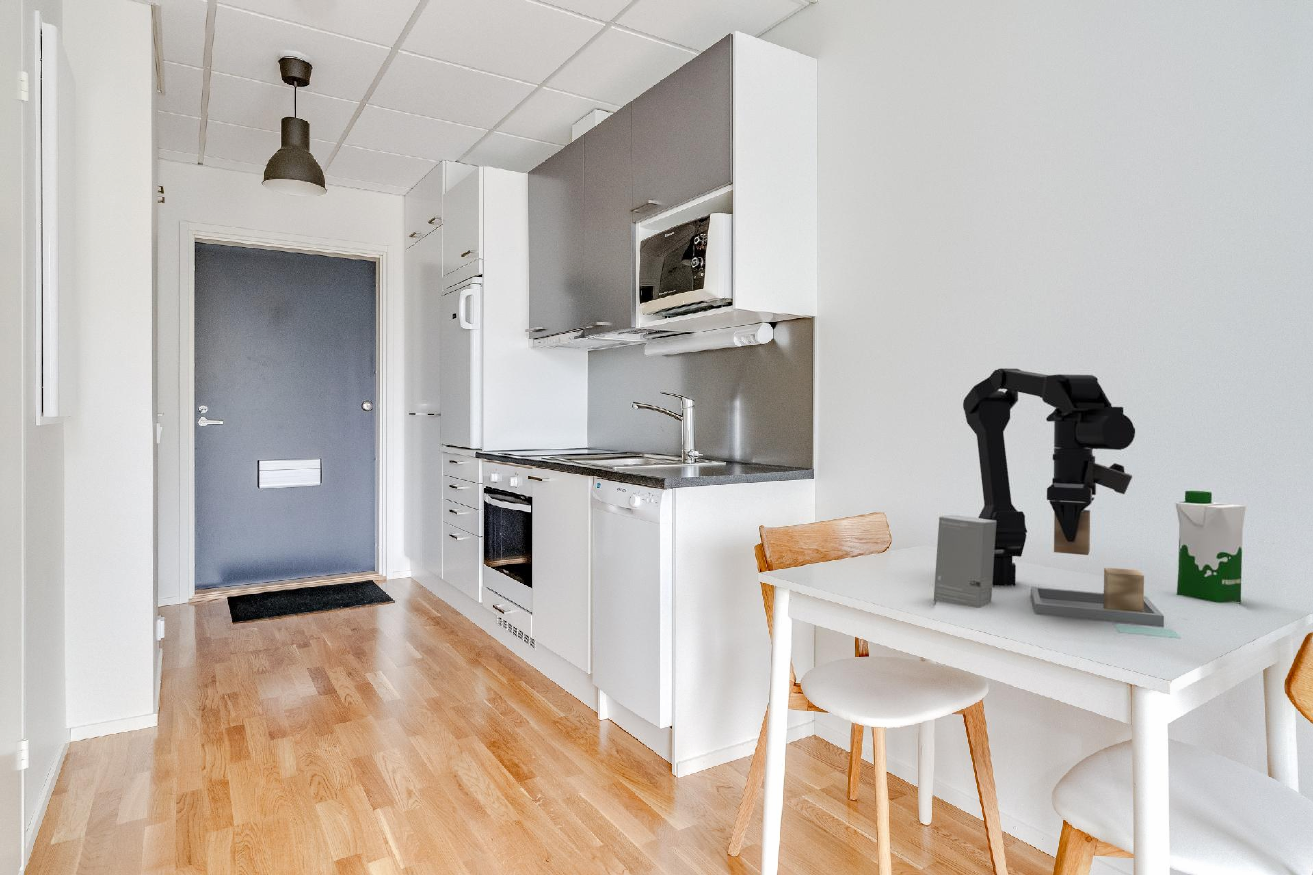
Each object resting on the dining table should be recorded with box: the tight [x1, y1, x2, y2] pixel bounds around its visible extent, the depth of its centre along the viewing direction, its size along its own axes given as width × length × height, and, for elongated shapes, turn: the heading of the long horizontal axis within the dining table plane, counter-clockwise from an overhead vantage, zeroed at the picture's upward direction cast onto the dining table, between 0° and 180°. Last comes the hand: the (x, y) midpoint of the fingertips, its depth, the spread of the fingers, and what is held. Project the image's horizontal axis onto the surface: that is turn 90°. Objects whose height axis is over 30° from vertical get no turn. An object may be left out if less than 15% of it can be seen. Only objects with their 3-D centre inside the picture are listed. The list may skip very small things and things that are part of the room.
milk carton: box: [1175, 490, 1247, 604], centre depth 136 cm, size 9×9×20 cm
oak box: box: [1103, 567, 1145, 612], centre depth 124 cm, size 5×5×7 cm
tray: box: [1030, 586, 1165, 628], centre depth 126 cm, size 18×14×2 cm
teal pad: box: [1112, 623, 1182, 640], centre depth 113 cm, size 8×5×1 cm, turn 66°
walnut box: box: [1053, 509, 1091, 556], centre depth 126 cm, size 5×5×7 cm
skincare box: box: [933, 514, 997, 609], centre depth 132 cm, size 8×7×16 cm
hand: (1072, 539), depth 126 cm, fingers closed on walnut box, 5 cm apart
